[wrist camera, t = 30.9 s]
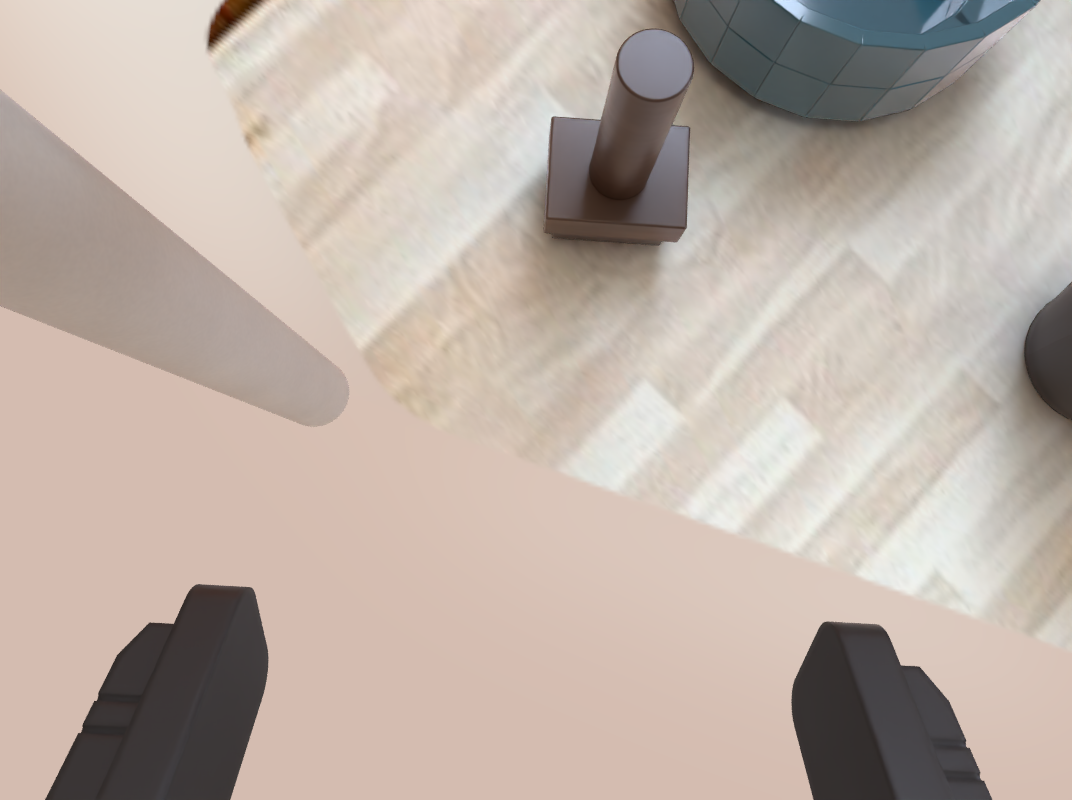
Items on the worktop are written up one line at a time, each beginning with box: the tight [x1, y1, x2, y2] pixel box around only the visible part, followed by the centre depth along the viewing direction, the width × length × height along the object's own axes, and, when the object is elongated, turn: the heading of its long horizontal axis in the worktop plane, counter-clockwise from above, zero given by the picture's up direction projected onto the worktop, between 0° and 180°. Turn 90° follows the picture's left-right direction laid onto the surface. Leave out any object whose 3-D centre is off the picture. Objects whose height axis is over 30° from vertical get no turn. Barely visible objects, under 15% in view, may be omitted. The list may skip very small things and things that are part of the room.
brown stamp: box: [544, 29, 694, 245], centre depth 27 cm, size 5×4×10 cm
